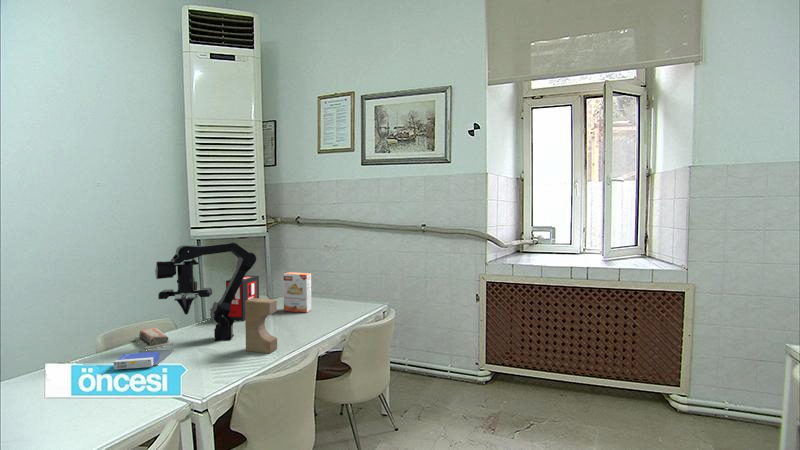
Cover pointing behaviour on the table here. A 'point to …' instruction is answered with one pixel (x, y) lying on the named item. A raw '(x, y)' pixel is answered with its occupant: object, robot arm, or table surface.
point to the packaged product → (152, 339)
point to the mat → (160, 354)
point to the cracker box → (297, 292)
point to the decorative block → (259, 325)
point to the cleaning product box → (243, 296)
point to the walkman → (136, 360)
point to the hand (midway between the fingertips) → (186, 314)
